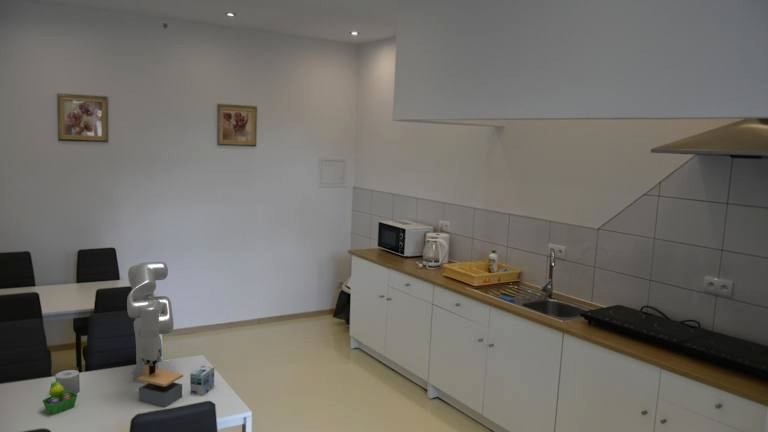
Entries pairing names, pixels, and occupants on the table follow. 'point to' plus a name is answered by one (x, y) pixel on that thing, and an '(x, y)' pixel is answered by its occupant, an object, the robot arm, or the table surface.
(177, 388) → the tub
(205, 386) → the light bulb box
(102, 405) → the table surface
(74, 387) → the toilet tissue
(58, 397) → the fruit basket
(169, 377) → the lid
